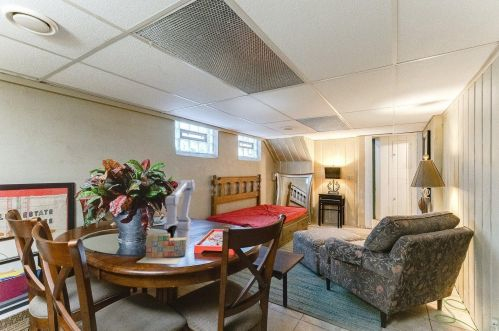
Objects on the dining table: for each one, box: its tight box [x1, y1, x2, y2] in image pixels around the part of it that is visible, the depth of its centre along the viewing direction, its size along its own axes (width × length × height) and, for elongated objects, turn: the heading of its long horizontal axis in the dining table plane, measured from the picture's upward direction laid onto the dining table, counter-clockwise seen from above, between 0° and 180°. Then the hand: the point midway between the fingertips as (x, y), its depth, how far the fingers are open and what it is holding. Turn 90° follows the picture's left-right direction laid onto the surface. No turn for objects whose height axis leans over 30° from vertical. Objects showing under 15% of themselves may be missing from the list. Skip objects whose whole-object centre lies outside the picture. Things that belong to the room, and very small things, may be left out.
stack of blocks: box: [145, 232, 187, 258], centre depth 134 cm, size 21×6×12 cm, turn 101°
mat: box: [135, 256, 183, 266], centre depth 126 cm, size 8×22×1 cm, turn 83°
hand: (171, 238), depth 140 cm, fingers closed
